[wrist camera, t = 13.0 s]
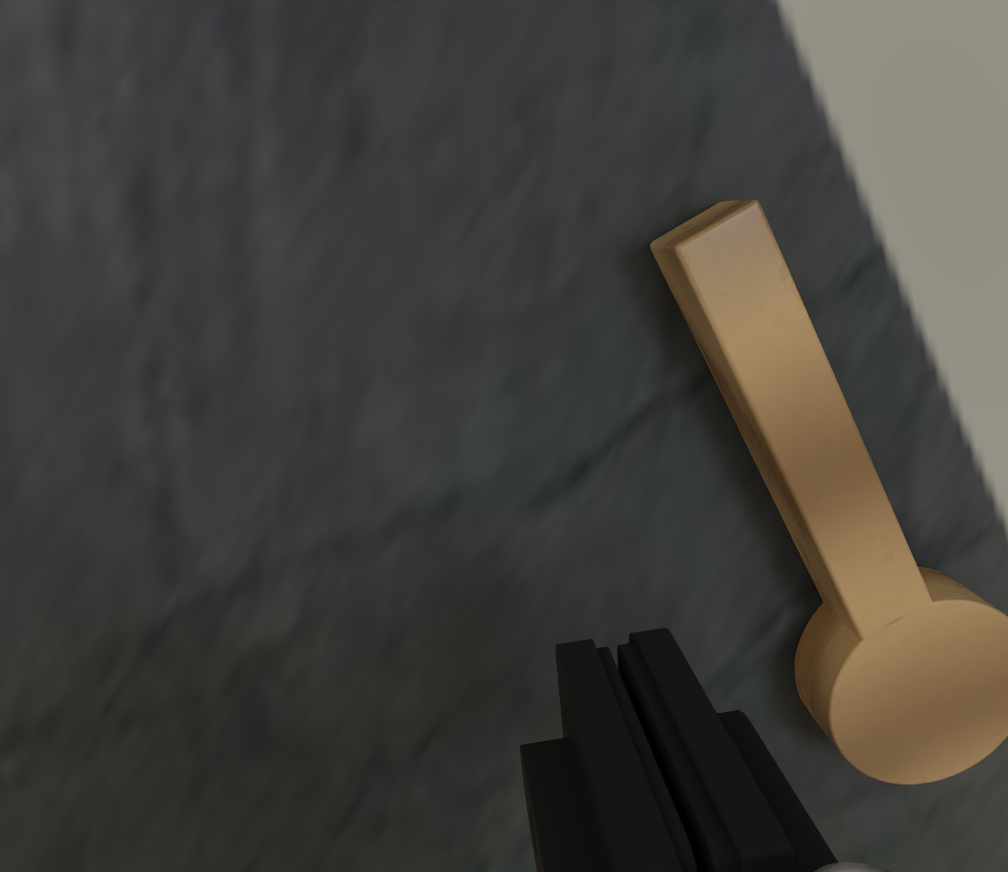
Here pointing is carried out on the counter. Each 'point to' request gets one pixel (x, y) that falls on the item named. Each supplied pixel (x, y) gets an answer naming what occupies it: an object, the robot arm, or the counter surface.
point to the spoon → (839, 521)
